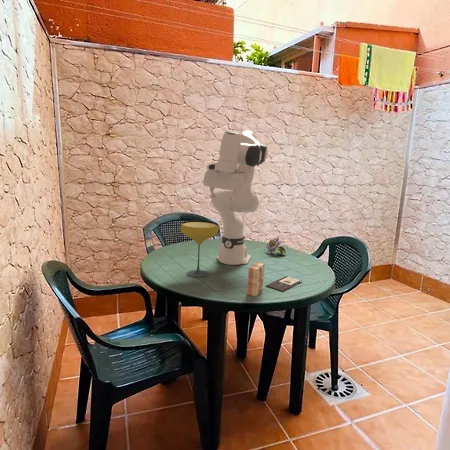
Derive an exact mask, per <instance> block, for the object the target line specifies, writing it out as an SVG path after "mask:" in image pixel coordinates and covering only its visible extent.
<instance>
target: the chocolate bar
mask: <svg viewBox="0 0 450 450" xmlns="http://www.w3.org/2000/svg"><path fill="white" fill-rule="evenodd" d="M299 282H300V280H299V279H297V278H294V277H290V276H288V275H287V276H283V277H281V278H279V279H277V280H274V281H272V282H271V283H270V282H269V283H268V284H265V287H266V288H269V289H273V290H276V291H279V292H281V291H282V292H281V293H284V292H286V291H288V290H290V289H292V288H293V287H292V286H294V285H296V284H298V283H299ZM299 284H300V283H299ZM299 284H298V285H299ZM296 286H297V285H296ZM291 287H292V288H291ZM294 287H295V286H294ZM289 288H290V289H289ZM287 289H288V290H287ZM285 290H286V291H285Z"/></svg>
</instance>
